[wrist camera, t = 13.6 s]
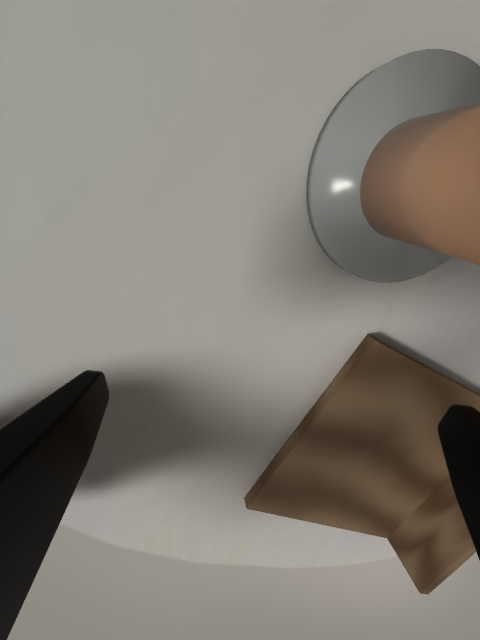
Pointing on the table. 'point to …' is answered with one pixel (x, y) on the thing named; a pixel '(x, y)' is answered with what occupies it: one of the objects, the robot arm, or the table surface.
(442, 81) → the ceramic saucer
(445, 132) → the terracotta pot
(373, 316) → the table surface
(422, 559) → the wooden bookend
